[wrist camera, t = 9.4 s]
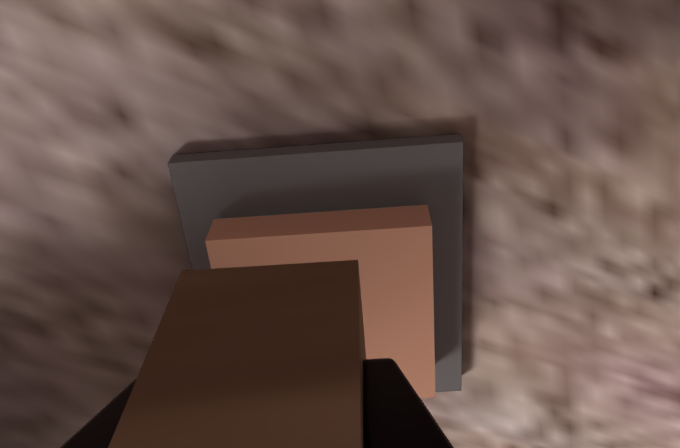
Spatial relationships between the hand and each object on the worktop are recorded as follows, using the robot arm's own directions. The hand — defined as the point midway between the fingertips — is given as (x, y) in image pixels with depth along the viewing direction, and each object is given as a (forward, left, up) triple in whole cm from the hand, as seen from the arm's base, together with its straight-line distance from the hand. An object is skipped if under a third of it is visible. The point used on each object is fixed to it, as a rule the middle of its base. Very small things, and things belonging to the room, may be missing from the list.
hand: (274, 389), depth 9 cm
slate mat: (0, -5, -10) cm, 12 cm away
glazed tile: (0, -3, -9) cm, 9 cm away
